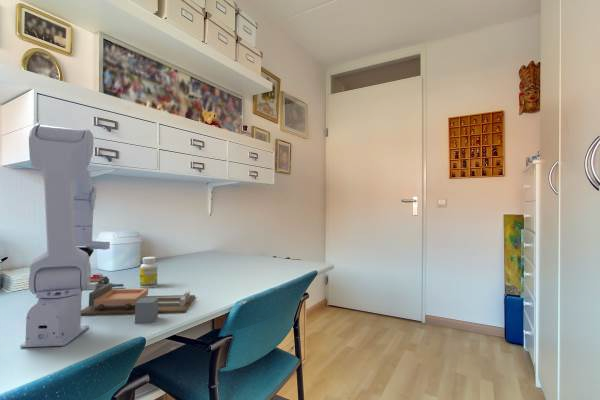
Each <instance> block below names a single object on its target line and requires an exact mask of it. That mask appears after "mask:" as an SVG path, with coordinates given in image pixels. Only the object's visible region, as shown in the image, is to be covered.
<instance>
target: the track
mask: <svg viewBox="0 0 600 400" xmlns="http://www.w3.org/2000/svg"><path fill="white" fill-rule="evenodd" d="M157 297H158V315H159V314H185V313H186V312H187V310H188V308H189V307H190V305H191V304H192V302H193V301H194V299H195V298H196V295H195V294H191V292H190V290H188V291H185V292H184V293H183V295H182V294H181V295H180V294H179V295H178V294H177V295H176V294H175V295H147V296H145V297H144V298H157ZM118 315H119V316H121V315H135V305H131V307H130V308H129V309H128V310H125V309H124V305H120V306H104V308H103V309H102V310H97V306H89V305H88V306H86V307H85V308H83V309H81V317H82V316H85V317H86V316H118Z"/></svg>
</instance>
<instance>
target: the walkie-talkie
mask: <svg viewBox="0 0 600 400" xmlns="http://www.w3.org/2000/svg"><path fill="white" fill-rule="evenodd" d="M108 283H110V279H109V277H108V276H106V275H105V276H104V275H103V274H102V273H100V272H97V273H93V272H91V277H90V284H89V287H88V288H86V290H85V291H89V290H90V291H95V290H96V289H98V288H100V287H102V286H104V285H106V284H108ZM115 287H117V288H118V287H121V288H123V287H124V284H123V283H112V288H115Z"/></svg>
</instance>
